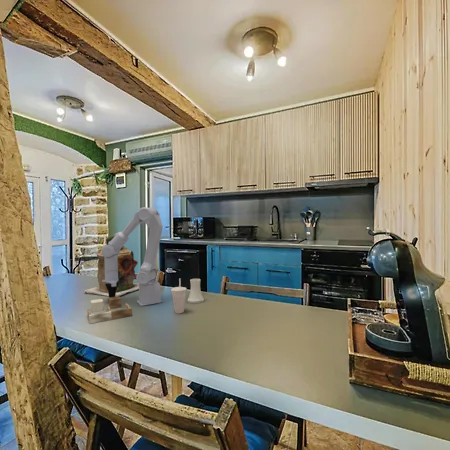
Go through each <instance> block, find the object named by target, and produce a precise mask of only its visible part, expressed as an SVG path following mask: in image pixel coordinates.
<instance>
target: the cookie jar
mask: <svg viewBox="0 0 450 450" xmlns="http://www.w3.org/2000/svg"><path fill="white" fill-rule="evenodd" d="M118 232H119V231H117V232H116V233H118ZM116 233H114V234H111V235H108V236H107V237H106V239H105V241H106V242H105V243H106V244H105V245H108V244H109V243H108V242H109V241H111V240H112V239H113V238H114V237H115V236H114V235H115V234H116ZM134 255H135V254H134V251H133V250H130V249H128V248H127V247H125V245H124V246H123V247H122V248H121V249H120V252H119V254H118V258H117V259H118V279H119V280H118V281H117V282H118V284H119V285H118V287H117V290H116V295H115V297H117V296H120V297H121V296H123V295H125V294H127V293H131V292H132V293H133V292H134V291H137V290H138V291H139V283H138V282H134V280H135V279H136V272H135V268H136V267H137V265H138V263H139V262H138V261H137V260H136V259H135V256H134ZM96 257H97V258H98V263H97V275H96V276H97V281H98V286H94V287H91V288H87V289H85V290H83V291H84V293H86V294H90V295H91V294H94V295H96V296H97V295H98V296H105V297H109V294H108V290H107V287H106V286H105V284H108V283H107V282H102V280H105V263H104V256H103V255H102V251H101V252H98V253H97V254H96Z"/></svg>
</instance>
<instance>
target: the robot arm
mask: <svg viewBox="0 0 450 450" xmlns="http://www.w3.org/2000/svg"><path fill="white" fill-rule="evenodd" d="M141 224H146V227H148V228H149V234H148V239H147V242H146V243H147V244H146V249H145V253H144V258H143V263H142V264H141V266H140V268H139V271H138V273H137V274H136V275H135V279H136V281H137V282H136V283H139V289H138V300H136V302H137V303H138V304H139V306H142V307H143V306H148V305H153V304H160V303H162V293H161V291H162V288H161V283H160V282H158V281H155V280H156V278H157V275H158V274H157V265H156V260H157V257H158V253H159V251H158V250H159V247H160V242H161V237H162V233H163V223H162V220H161V214H160V213H159V211H158V209H156V208H154V207H146V206H144V207H143V206H142V207H141V208H139V209H138V211H137V212H135V213H134V215H133V216H132V218H131V219H130V220H129V222H128V224H127V225H126V226H125V228H124V229H123V230H122V231H117V232H118V233H117V232H116V233H114V234H115V235H114V236H115V237H114V238H113V239H112V240H111V241H109V242H108V243H109V244H108V245H107V244H105V245H103V247H102V249H101V252H102V255H103V256H104V263H105V280H102V282H107V283H108V284H105V286H106V287H107V290H108V294H109V296H108V299H109V298H110V297H115V295H116V290H117V287H118V285H119V284H118V282H117V281H118V280H119V279H118V259H117V258H118V254H119V252H120V249H121V248H122V247H123V246H124V247H125V244H126V243H127V242H128V241H129V236H130V235H131V234H132V233H133V232H134V231H135V229H136V228H138V226H140V225H141Z"/></svg>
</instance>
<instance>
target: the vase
mask: <svg viewBox="0 0 450 450" xmlns="http://www.w3.org/2000/svg"><path fill="white" fill-rule="evenodd" d="M189 281H190V291H189V296H188V298H187V302H188V304H200V303H203V302H204V301H205V300H204V297H203V294H202V291H201V279H200V278H192V279H190V280H189Z"/></svg>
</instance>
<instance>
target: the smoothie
mask: <svg viewBox="0 0 450 450" xmlns="http://www.w3.org/2000/svg"><path fill="white" fill-rule="evenodd" d="M181 279H182V278H179V279H178V281H179V283H178V284H179V285H178V286H175V287H172V288H171V290H170V292H171V296H172V304H173V309H174V313H175V314H183V313H184V312H185V302H186V292H187V291H188V290H187V287H186V286H185V287H183V286H181V284H182V283H181V282H182V281H181Z"/></svg>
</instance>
